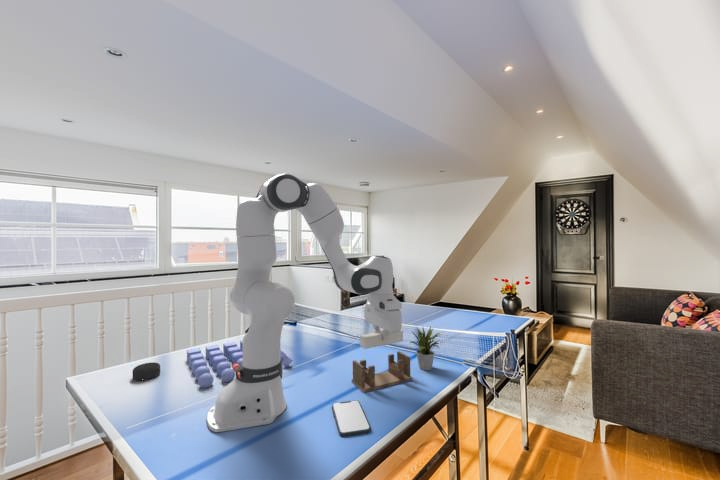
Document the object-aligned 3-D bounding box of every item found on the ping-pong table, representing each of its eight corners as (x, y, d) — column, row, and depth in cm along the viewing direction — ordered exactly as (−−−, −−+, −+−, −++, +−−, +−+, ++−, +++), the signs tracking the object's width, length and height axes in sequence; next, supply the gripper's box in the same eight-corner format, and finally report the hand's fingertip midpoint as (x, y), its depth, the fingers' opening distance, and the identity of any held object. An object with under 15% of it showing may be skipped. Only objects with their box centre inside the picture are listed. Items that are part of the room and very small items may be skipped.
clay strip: (364, 348, 114) (364, 337, 114) (360, 346, 117) (360, 335, 117) (402, 341, 121) (402, 330, 121) (398, 339, 124) (397, 328, 124)
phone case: (372, 435, 88) (359, 404, 103) (372, 429, 88) (359, 399, 103) (339, 440, 86) (330, 408, 101) (339, 434, 86) (330, 402, 101)
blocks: (267, 345, 161) (266, 335, 161) (295, 368, 133) (294, 356, 133) (186, 361, 142) (186, 349, 142) (199, 391, 113) (199, 377, 113)
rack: (363, 392, 110) (363, 368, 110) (351, 382, 118) (351, 359, 118) (412, 379, 120) (411, 358, 120) (398, 371, 128) (397, 350, 128)
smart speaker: (147, 382, 120) (146, 371, 120) (126, 380, 122) (126, 369, 122) (165, 372, 129) (165, 362, 129) (146, 371, 131) (146, 361, 131)
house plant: (442, 378, 121) (442, 334, 120) (405, 373, 125) (405, 330, 125) (445, 364, 134) (445, 324, 134) (411, 360, 139) (411, 321, 138)
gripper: (360, 296, 126) (360, 332, 127) (388, 306, 108) (389, 348, 108) (374, 295, 129) (374, 330, 130) (404, 304, 111) (405, 345, 111)
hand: (381, 338), depth 119 cm, fingers closed on clay strip, 3 cm apart
